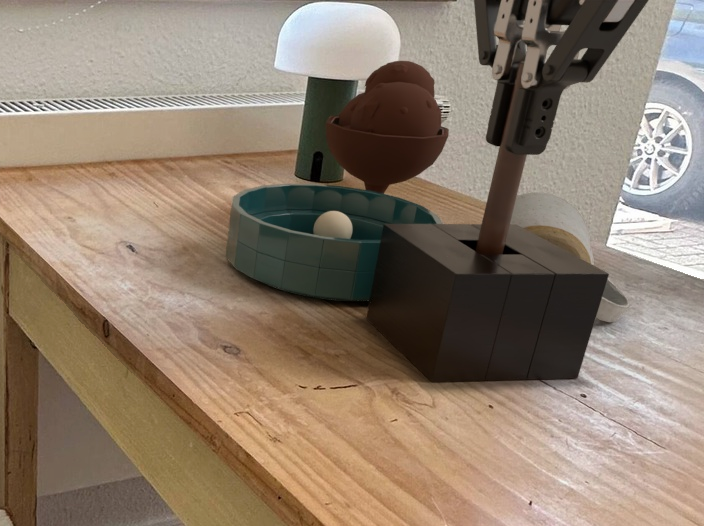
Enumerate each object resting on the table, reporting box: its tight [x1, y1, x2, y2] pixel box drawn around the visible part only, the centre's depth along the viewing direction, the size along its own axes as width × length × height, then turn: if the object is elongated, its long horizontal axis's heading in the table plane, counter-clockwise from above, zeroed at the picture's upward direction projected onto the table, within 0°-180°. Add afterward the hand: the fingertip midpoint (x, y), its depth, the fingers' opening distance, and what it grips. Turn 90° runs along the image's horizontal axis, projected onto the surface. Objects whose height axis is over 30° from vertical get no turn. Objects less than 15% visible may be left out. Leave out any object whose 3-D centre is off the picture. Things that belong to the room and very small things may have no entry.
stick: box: [475, 61, 528, 255], centre depth 55 cm, size 2×2×18 cm
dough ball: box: [313, 211, 353, 239], centre depth 74 cm, size 3×3×3 cm
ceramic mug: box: [510, 192, 630, 323], centre depth 65 cm, size 11×8×8 cm
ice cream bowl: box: [325, 60, 450, 194], centre depth 80 cm, size 11×11×15 cm
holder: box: [365, 223, 610, 383], centre depth 57 cm, size 10×10×7 cm
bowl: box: [225, 183, 444, 302], centre depth 70 cm, size 16×16×5 cm
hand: (513, 148), depth 53 cm, fingers closed on stick, 1 cm apart
